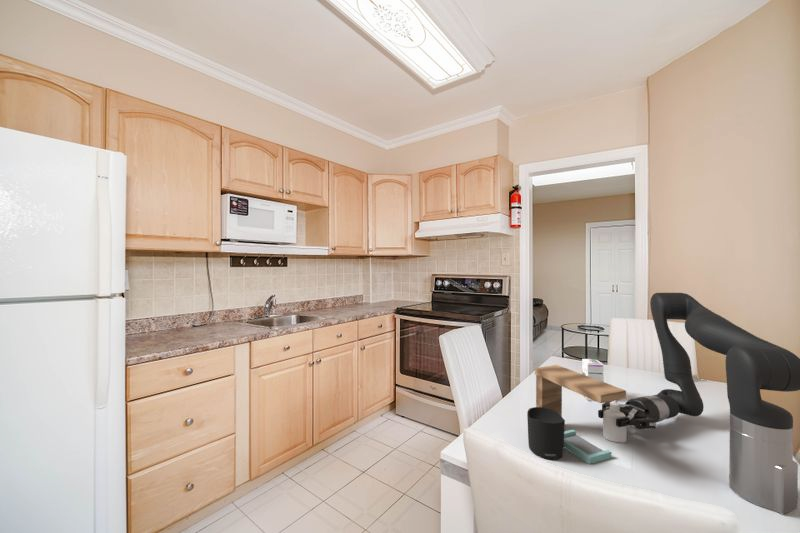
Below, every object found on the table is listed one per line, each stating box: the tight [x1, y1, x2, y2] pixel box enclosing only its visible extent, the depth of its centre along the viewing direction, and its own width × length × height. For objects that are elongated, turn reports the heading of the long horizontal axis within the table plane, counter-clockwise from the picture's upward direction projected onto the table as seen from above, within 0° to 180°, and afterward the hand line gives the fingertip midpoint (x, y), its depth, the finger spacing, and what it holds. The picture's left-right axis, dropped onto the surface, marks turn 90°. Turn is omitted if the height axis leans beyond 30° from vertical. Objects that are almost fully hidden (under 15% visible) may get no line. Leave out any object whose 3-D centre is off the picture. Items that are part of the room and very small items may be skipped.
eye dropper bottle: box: [602, 400, 628, 443], centre depth 92 cm, size 4×6×12 cm
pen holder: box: [526, 406, 566, 461], centre depth 87 cm, size 9×9×10 cm
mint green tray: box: [563, 429, 613, 465], centre depth 88 cm, size 12×8×2 cm, turn 20°
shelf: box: [534, 364, 627, 418], centre depth 90 cm, size 22×9×19 cm, turn 20°
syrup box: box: [581, 358, 605, 402], centre depth 121 cm, size 6×6×14 cm
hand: (608, 418), depth 92 cm, fingers closed on eye dropper bottle, 5 cm apart
